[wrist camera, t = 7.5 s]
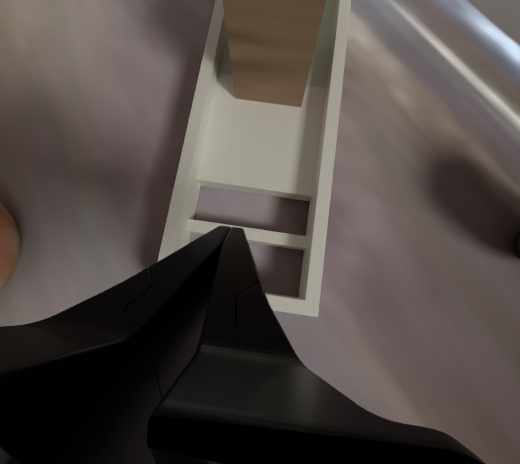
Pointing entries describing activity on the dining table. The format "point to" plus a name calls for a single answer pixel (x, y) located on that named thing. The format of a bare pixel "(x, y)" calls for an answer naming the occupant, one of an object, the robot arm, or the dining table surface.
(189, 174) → the trap box
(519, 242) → the cup
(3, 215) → the orange pumpkin
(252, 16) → the tan upright block
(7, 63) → the dining table surface
